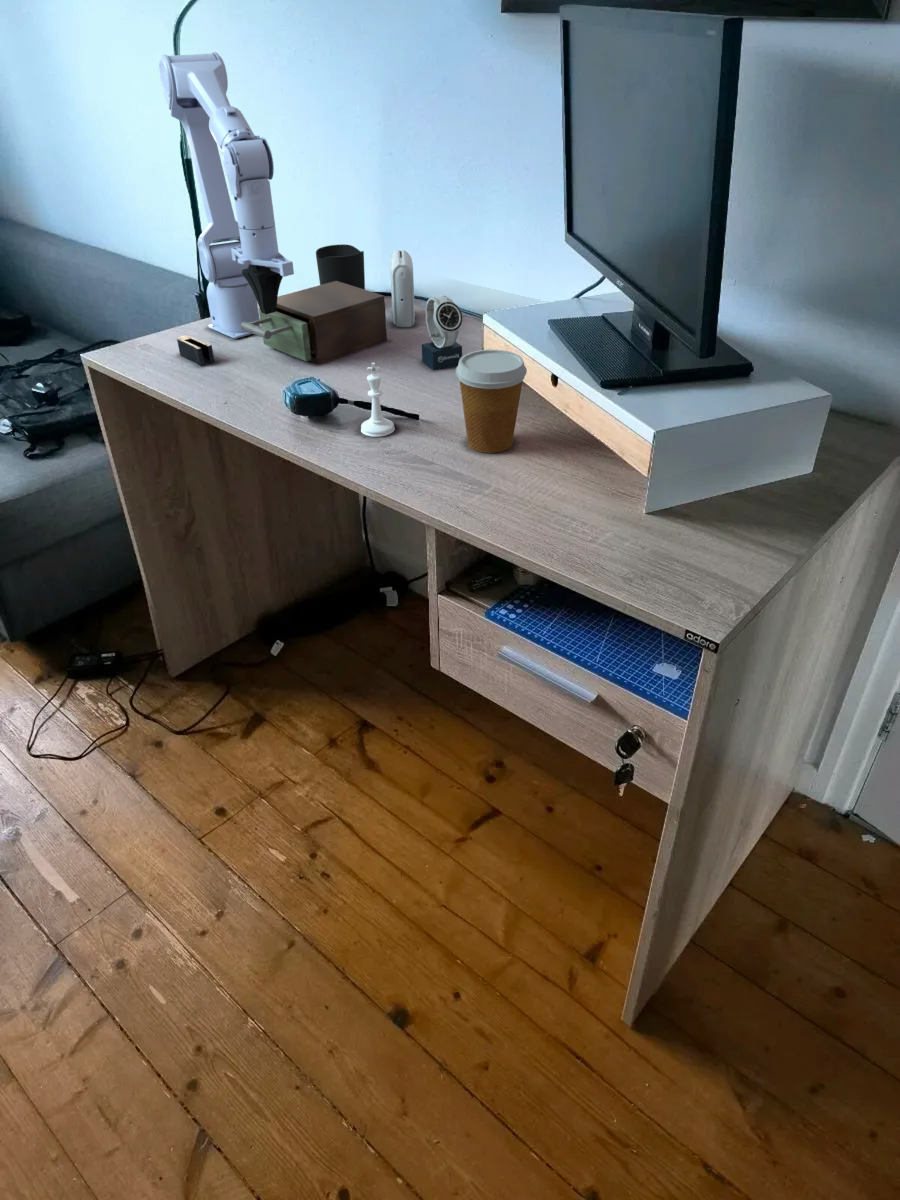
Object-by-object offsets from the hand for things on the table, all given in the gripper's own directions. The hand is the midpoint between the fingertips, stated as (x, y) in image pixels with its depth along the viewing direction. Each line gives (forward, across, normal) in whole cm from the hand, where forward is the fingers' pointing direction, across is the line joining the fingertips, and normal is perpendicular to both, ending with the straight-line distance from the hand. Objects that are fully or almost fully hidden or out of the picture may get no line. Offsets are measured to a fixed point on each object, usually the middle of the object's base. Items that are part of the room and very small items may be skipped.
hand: (268, 312), depth 143 cm
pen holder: (+8, -17, +29) cm, 35 cm away
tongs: (+8, -11, -9) cm, 16 cm away
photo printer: (+8, 0, +30) cm, 31 cm away
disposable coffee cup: (+9, +49, +2) cm, 50 cm away
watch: (+9, +22, +19) cm, 30 cm away
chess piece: (+9, +34, -6) cm, 36 cm away
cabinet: (+8, 0, +12) cm, 15 cm away
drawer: (+8, 0, +6) cm, 10 cm away
